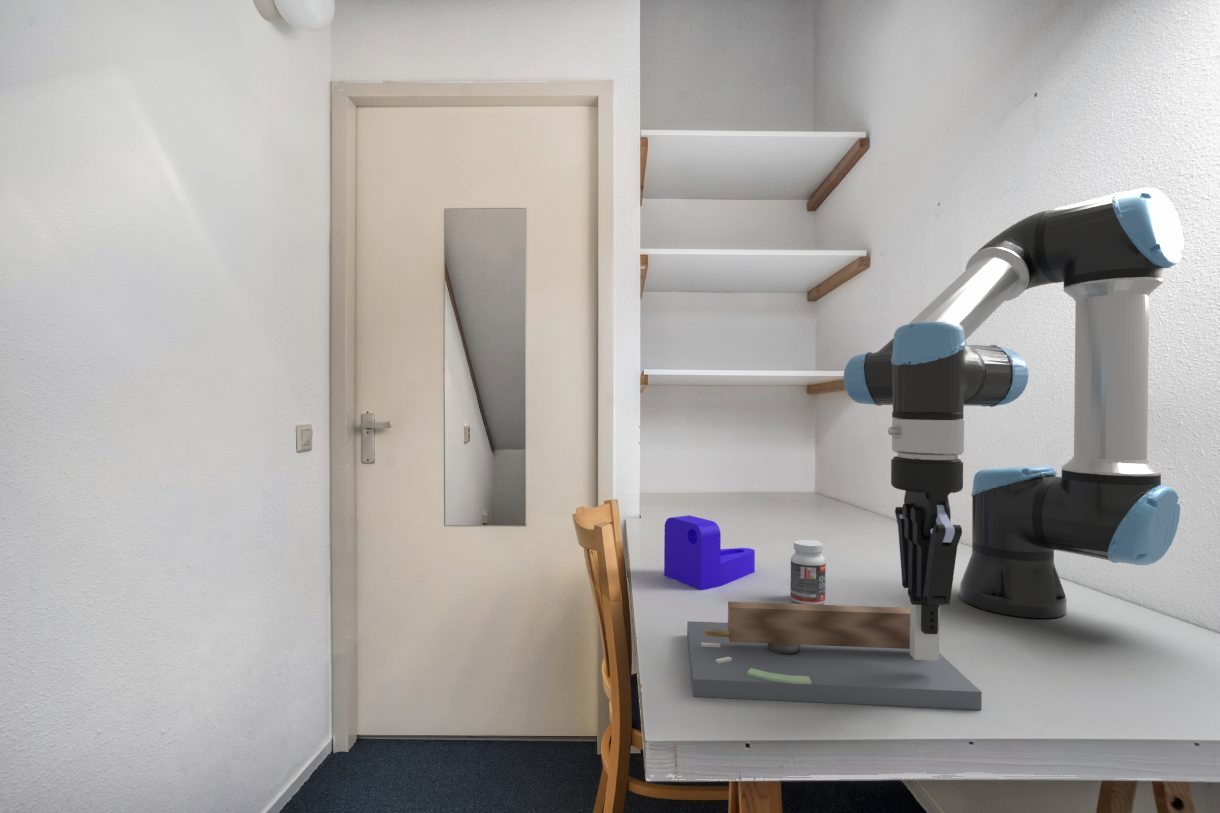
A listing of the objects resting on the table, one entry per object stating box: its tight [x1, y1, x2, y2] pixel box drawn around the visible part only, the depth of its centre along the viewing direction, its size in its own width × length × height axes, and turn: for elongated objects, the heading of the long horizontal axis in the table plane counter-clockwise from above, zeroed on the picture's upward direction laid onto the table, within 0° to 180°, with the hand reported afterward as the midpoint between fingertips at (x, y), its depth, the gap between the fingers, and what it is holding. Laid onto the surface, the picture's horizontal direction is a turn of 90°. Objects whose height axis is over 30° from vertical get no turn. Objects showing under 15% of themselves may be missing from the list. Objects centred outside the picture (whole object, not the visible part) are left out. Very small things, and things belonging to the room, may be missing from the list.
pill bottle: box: [789, 539, 827, 605], centre depth 107 cm, size 6×6×10 cm
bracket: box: [663, 515, 756, 591], centre depth 122 cm, size 18×11×12 cm, turn 122°
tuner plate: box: [686, 621, 983, 711], centre depth 80 cm, size 32×19×2 cm, turn 85°
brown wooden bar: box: [705, 601, 910, 655], centre depth 80 cm, size 28×4×5 cm, turn 85°
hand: (924, 657), depth 74 cm, fingers closed
